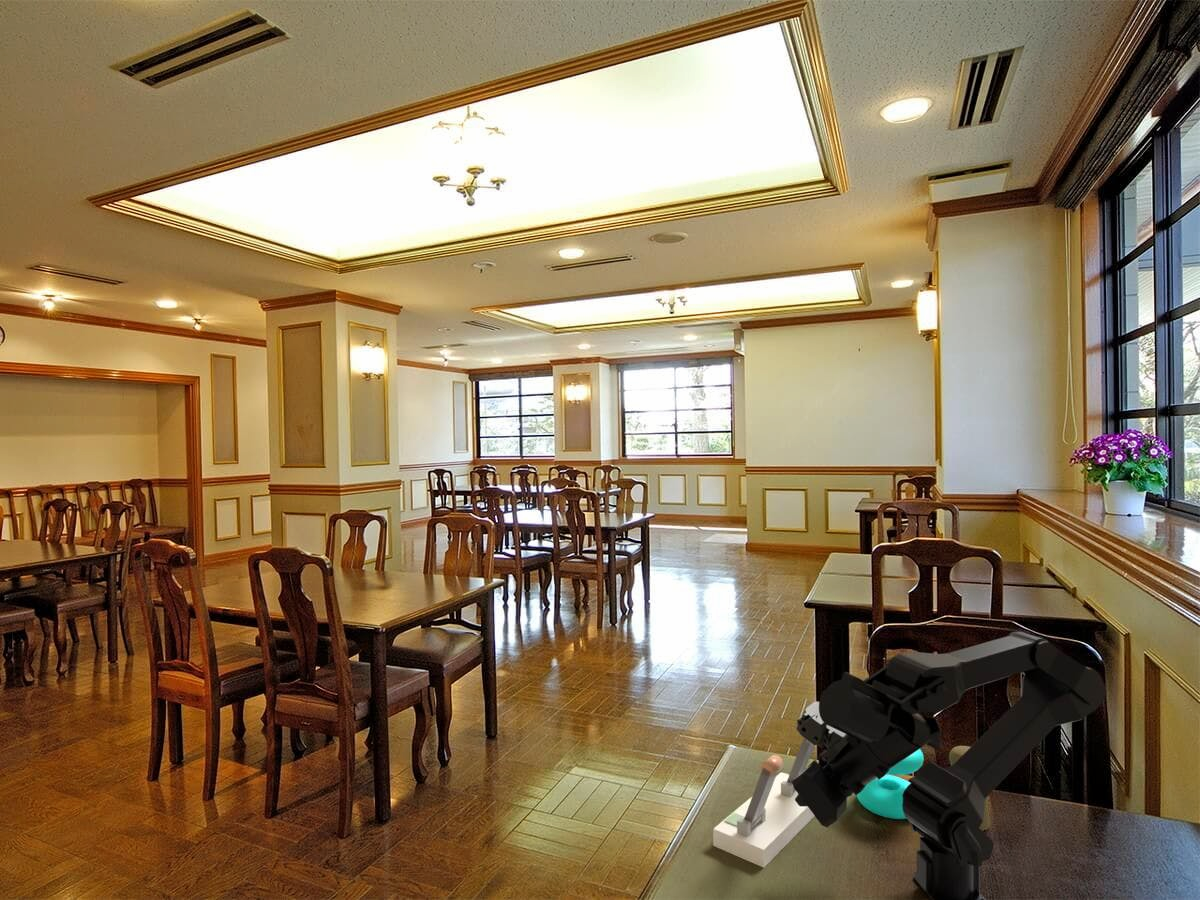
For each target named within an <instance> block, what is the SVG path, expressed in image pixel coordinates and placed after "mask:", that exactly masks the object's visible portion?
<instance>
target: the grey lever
mask: <svg viewBox="0 0 1200 900" xmlns="http://www.w3.org/2000/svg"><path fill="white" fill-rule="evenodd" d="M802 738H803V739H802V742H801V744H800V746H799V748H798V752H797V754H796V757H795V760H794V762H793V765H792V767H791V770H790V773H789V774H788V775H789V777H788V780H787V781H786V782H789V783H792V781H793V780H794V779H795V778H796V777H797V776H798V775H799V774H800V773H801V772H802V771H803V770H805V769H806V768H807V767H808V764H809V761H810V758H811V757H812V754H813V751H814V749H815V746H816V745H813V744H812V743H810V742H809V741H808V740H806V739H805V738H804V737H802ZM792 784H793V783H792ZM793 790H794V787H793Z"/></svg>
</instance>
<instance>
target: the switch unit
mask: <svg viewBox="0 0 1200 900" xmlns="http://www.w3.org/2000/svg"><path fill="white" fill-rule="evenodd" d="M789 775H790V774H788V773H786V772H780V773H779V774H778V773H777V775H776V778H775V780H774V783H773V785H772V788H771V791H770V793H769V796H768V799H767V801H766V804H765V806H764V809H763V812H762V814H761V820H760V821H759V822H758V823H757V824H756V825H755V826H754V827H753V828H752V829H751V822H750V821H747V820H745V819H744V818H745V815H746V812H747V810H748V807H749V804H750V802H751V799H752V796H751V797H749V799H747V800H746V801H745V802H744V803H743V804H741V805H740V806H738V808H736V809H735V810H734V811H732V812H731V813H730V815H728V816H727V817H725V818H724V819H723V820H722V821H721V822H719V823H718V824H717V825H716V826H715V827H714V828H713V829H712V831H713V835H712V836H713V838H712V840H713V842H712V844H713V845H712V846H713V847H715V848H718V849H720V850H722V851H724V852H727V853H729V854H732V855H733V856H736V857H738V858H741V859H743V860H745V861H747V862H750V863H753V864H754V865H757V866H759V867H761V868H766V867H767V865H768V864H769V863H770V862H771V861H773V859H774V858H776V856H777V855H778V854H779V853H780V852H781V851H782V850H783V849H784V848H785V847H786V846H787V845H788V844H789V843H790V842H791V841H792V840H793V839H794V838H795V836H797V835H798V834H799V833H800V831H802V829H804V828H805V826H806V825H807V824H808V823H809V822H810V821H811V820H813V818H814V817H815V816H814V814H813V813H812V811H811V810H810V809H809V807H808V806H802V807H801V806H799V805H798V804H797V802H796V801H795V798H796V797H797V796H798V793H797V791H796V790H795V789H794V790H793V784H792V783H789V782H786V781H787V780H788V777H789Z"/></svg>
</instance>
